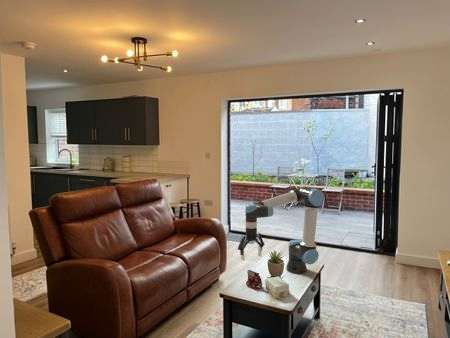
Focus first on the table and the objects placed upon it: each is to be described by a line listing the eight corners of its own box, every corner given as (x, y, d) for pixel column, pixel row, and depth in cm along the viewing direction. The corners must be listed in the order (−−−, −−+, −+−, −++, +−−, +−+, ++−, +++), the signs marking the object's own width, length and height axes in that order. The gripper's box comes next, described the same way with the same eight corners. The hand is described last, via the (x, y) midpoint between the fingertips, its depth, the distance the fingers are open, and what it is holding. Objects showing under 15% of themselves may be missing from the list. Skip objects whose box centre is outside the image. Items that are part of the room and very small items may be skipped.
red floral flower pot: (257, 291, 232) (257, 275, 231) (244, 285, 241) (244, 270, 240) (264, 287, 237) (264, 273, 236) (251, 282, 246) (251, 268, 245)
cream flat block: (278, 282, 237) (278, 276, 237) (289, 290, 224) (289, 284, 223) (265, 284, 234) (265, 278, 233) (274, 293, 221) (274, 287, 220)
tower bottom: (278, 287, 237) (278, 282, 237) (289, 296, 224) (289, 290, 224) (265, 290, 234) (265, 284, 234) (275, 299, 221) (275, 293, 221)
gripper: (263, 223, 244) (263, 253, 246) (232, 228, 232) (232, 259, 234) (269, 226, 237) (269, 256, 240) (238, 231, 226) (238, 263, 228)
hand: (251, 257), depth 237 cm, fingers open, 13 cm apart
